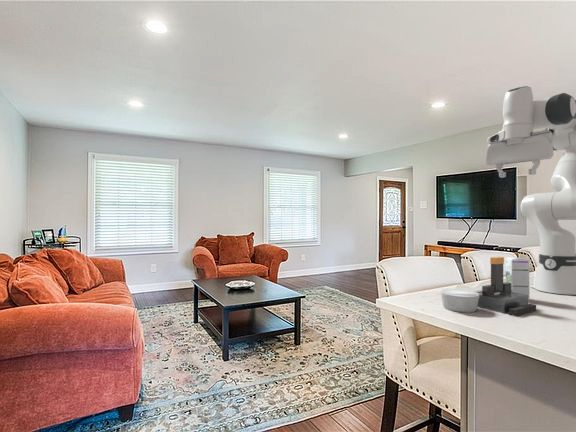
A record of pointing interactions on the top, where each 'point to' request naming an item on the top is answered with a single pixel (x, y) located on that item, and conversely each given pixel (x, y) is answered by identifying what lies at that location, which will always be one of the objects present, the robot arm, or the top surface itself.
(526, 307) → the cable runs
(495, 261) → the lever
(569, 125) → the robot arm
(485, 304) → the stepped grey base plate
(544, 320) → the top surface
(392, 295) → the top surface
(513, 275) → the syrup box
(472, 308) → the ramekin
